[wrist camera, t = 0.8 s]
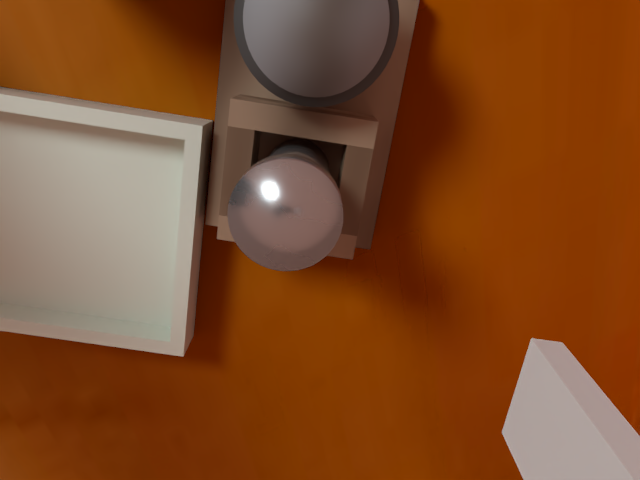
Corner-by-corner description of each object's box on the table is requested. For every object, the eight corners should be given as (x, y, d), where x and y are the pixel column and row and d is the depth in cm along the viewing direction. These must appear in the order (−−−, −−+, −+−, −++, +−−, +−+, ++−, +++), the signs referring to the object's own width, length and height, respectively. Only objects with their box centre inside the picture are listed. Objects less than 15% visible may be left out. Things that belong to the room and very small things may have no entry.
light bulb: (252, 203, 35) (222, 262, 25) (261, 122, 33) (233, 150, 23) (331, 215, 35) (333, 278, 25) (345, 136, 33) (352, 169, 23)
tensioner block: (211, 216, 37) (181, 256, 30) (237, -58, 32) (208, -94, 24) (368, 240, 38) (378, 285, 30) (419, -26, 32) (448, -52, 25)
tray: (-51, 300, 40) (-80, 319, 37) (-67, 76, 34) (-103, 77, 32) (193, 335, 40) (183, 356, 37) (212, 120, 35) (202, 125, 32)
